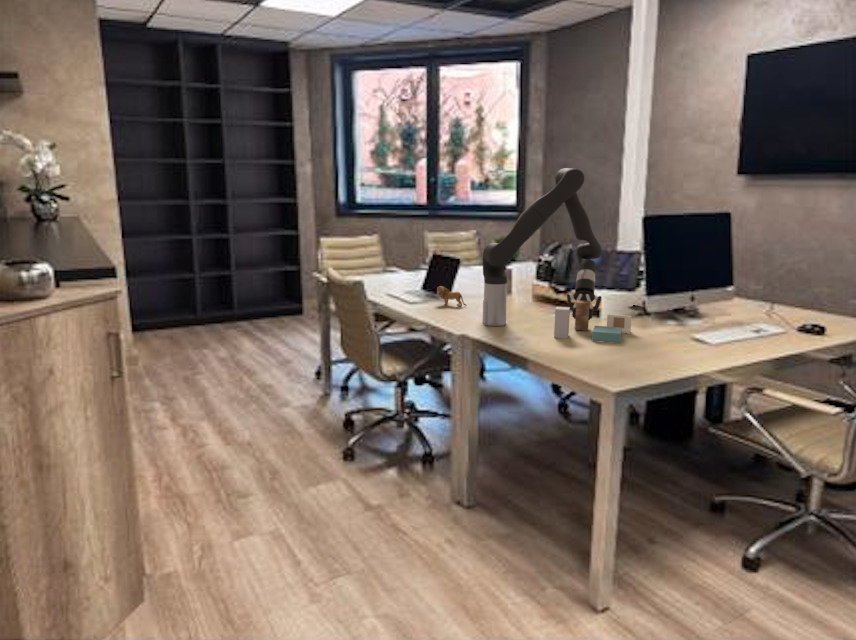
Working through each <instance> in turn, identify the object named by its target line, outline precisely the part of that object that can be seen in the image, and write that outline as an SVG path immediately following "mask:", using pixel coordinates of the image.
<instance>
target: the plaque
mask: <svg viewBox="0 0 856 640" xmlns="http://www.w3.org/2000/svg"><path fill="white" fill-rule="evenodd" d="M606 317H607V319H606V327H619V328H622V334H625V333H627V335H631V329H632V328H631V326H632V315H624V314H623V315H621V314H607V316H606Z"/></svg>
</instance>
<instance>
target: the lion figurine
mask: <svg viewBox="0 0 856 640" xmlns="http://www.w3.org/2000/svg"><path fill="white" fill-rule="evenodd" d="M436 294H437V295H438V296H439V297H440V298H441V299H442V300H444V304H443V306H444V305H446V306H448V304H449V300H455V301H456V302H457V303H456V306H459V308H462V307H463V306H468V305H467V304H466V303H465V302H464V300H463V296H462V294H461V292H459V291H450V289H449V288H447V287H445V286H442V285H439V286H437V289H436Z"/></svg>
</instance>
